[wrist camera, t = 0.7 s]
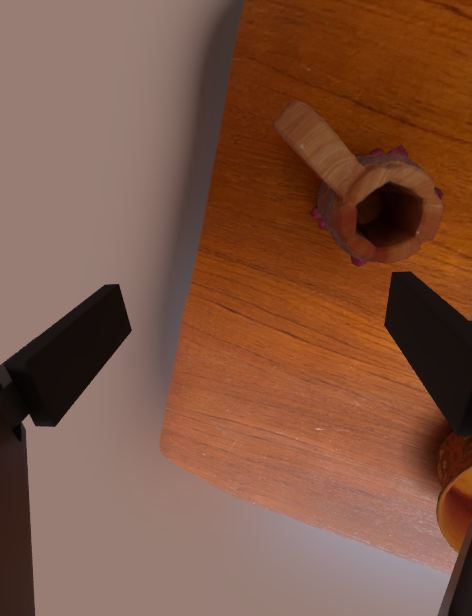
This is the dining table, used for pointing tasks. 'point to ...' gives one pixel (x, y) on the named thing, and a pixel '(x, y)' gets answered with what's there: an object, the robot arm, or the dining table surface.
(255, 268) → the dining table surface
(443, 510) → the bowl
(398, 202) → the mug
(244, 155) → the dining table surface
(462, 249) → the dining table surface
